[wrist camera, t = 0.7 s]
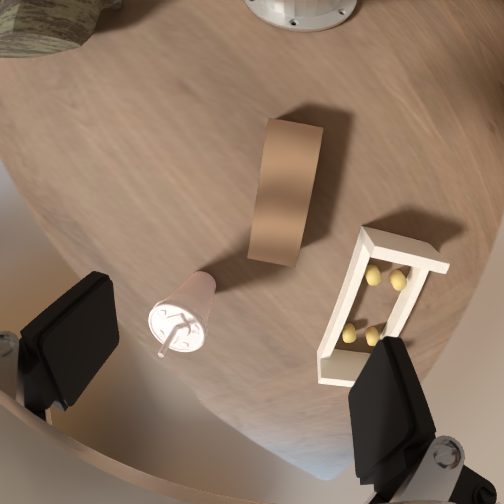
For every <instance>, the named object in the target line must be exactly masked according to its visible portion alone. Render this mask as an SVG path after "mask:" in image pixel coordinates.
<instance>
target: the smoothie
mask: <svg viewBox="0 0 504 504" xmlns="http://www.w3.org/2000/svg"><path fill="white" fill-rule="evenodd" d="M215 289H216V282H215V280H214V278H213V277H212V276H211V275H210V274H208V273H206V272H203V271H197V272H194V273H193V274H192V275H190V276H189V277H188V278H187V279H186V280H185V281H184V282H183V283H182V284H181V285H180V286H179V287H178V288H177V289H176V290H175V291H174V292H172V293H171V294H170V295H169V296H168V297H167V298H166V299H165V300H163V301H160V302H158V303H157V304H156V305H155V306H154V307H153V309H152V311H151V312H150V315H149V326H150V329H151V331H152V333H153V334H154V336H155V337H156V338H157V339H158V340H159V341H160V342H161V343H162V344H163V346H162V347H161V349H160V351H159V353H158V356H160V357H163V356H164V354H165V353H166V351H167V349H168V347H169V348H171V349H173V350H176V351H180V352H191V351H195V350H197V349H199V348H200V347H201V346H202V345H203V343H204V341H205V339H206V338H207V334H208V329H207V322H208V318H209V314H210V309H211V305H212V301H213V297H214V293H215Z"/></svg>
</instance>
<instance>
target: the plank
mask: <svg viewBox="0 0 504 504" xmlns="http://www.w3.org/2000/svg"><path fill="white" fill-rule="evenodd" d="M322 134H323V128H321V127H317V126H312V125H307V124H301V123H296V122H290V121H284V120H278V119H272V118H268V124H267V130H266V137H265V143H264V150H263V157H262V163H261V170H260V176H259V183H258V190H257V196H256V203H255V210H254V216H253V223H252V230H251V237H250V243H249V250H248V257H247V258H249V259H254V260H259V261H264V262H270V263H275V264H280V265H286V266H291V267H296V263H297V259H298V254H299V250H300V245H301V241H302V236H303V232H304V227H305V223H306V218H307V213H308V208H309V203H310V199H311V194H312V189H313V183H314V178H315V173H316V168H317V162H318V157H319V151H320V146H321V140H322Z"/></svg>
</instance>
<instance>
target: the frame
mask: <svg viewBox="0 0 504 504" xmlns="http://www.w3.org/2000/svg"><path fill="white" fill-rule="evenodd" d="M370 256H371V257H372V258H377V259H381V260H386V261H390V262H395V263H399V264H404V265H408V266H411V269H410V271H409V274H408V276H407V279H406V278H405V277H404V275H403V274H402V272H401V271H400V270H393V271H392V272H391V273H390V275H389V279H390V281H391V283H392V284H393V286H394V288H395V289H396V290H402V291H401V293H400V295H399V298H398V300H397V302H396V304H395V306H394V309H393V311H392V313H391V315H390V317H389V319H388V321H387V323H386V325H385V327H384V329H383V331H382V333H381V335H380V337H379V334H378V331H377V328H375V327H369V328H368V329H367V330H366V331H365V335H366V339H367V343H368V345H370V346H375V345H376V343H377V342H378V340H380V339H383V338H384V337H385V336H392V337H398V335H399V333H400V332H401V330H402V328H403V326H404V324H405V322H406V320H407V318H408V316H409V314H410V312H411V310H412V308H413V306H414V304H415V302H416V299H417V297H418V295H419V293H420V291H421V288H422V286H423V284H424V282H425V279H426V277H427V274H428V272H429V270H430V271H434V272H438V273H442V274H446V272H447V270H448V268H449V265H450V264H449V263H448V262H447V261H446V260H445V259H444V258H443V257H442V256H441V255H440V254H439V253H438V252H437V251H436V250H435V249H434V248H433V247H432V246H431V245H430V244H429V243H427V242H423V241H420V240H416V239H412V238H409V237H405V236H401V235H397V234H393V233H389V232H385V231H381V230H377V229H373V228H369V227H365V226H361V229H360V232H359V236H358V239H357V243H356V246H355V249H354V252H353V256H352V259H351V262H350V265H349V268H348V271H347V274H346V277H345V280H344V283H343V286H342V289H341V291H340V294H339V297H338V300H337V303H336V305H335V308H334V311H333V313H332V316H331V319H330V321H329V324H328V326H327V329H326V332H325V334H324V337H323V339H322V342H321V344H320V346H319V349H318V351H317V363H318V383H320V384H328V385H337V386H347V387H352V386H353V385H354V383H355V381H356V380H357V378H358V376H359V374H360V373H361V371H362V369H363V367H364V366H365V364H366V362H367V360H368V358H369V357H370V355H371V353H372V352H371V353H363V352H355V351H347V350H339V349H334V347H335V345H336V342H337V340H338V338H339V336H340V333H341V331H342V336H343V340H344V342H346V343H351V342H353V341H355V340H356V332H355V328H354V325H353V324H351V323H347V324H345V321H346V319H347V317H348V314H349V312H350V309H351V307H352V304H353V302H354V299H355V296H356V294H357V291H358V289H359V286H360V283H361V280H362V278H363V275H365V277H366V279H367V282H368V283H369V284H370V285H373V286H374V285H377V284H379V283H380V282H381V279H382V276H381V274H380V272H379V270H378V268H377V266H376V265H374V264H369V265H367V264H368V261H369V258H370ZM372 351H373V350H372Z"/></svg>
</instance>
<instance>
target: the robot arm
mask: <svg viewBox="0 0 504 504" xmlns="http://www.w3.org/2000/svg"><path fill="white" fill-rule="evenodd" d="M245 2H246V4H247V5H248V7H249V9H250V10H251V11H252V12H253V13H254V14H255V15H256V16H257V17H259V18H260V19H262V20H263V21H265V22H267V23H269V24H271V25H273V26H275V27H279V28H282V29H285V30H290V31H296V32H315V31H321V30H326V29H330V28H332V27H334V26H337V25H339V24H340V23H342V22H343V21H345V20H346V19H347V18H348V17H349V16H350V15H351V13H352V12H353V10H354V8H355V6H356V3H357V0H255V1H252V0H245ZM339 13H342V14H343V15H341V14H339ZM292 24H296V25H295V26H293V25H292ZM20 333H21V336H22V338H21V339H20V340H19V339H18V337H17V335H15V334H14V333H12V332H10V331H1V332H0V504H271V503H263V502H256V501H249V500H243V499H237V498H231V497H227V496H222V495H217V494H213V493H208V492H204V491H200V490H196V489H193V488H189V487H186V486H182V485H179V484H176V483H172V482H169V481H166V480H163V479H160V478H157V477H155V476H152V475H149V474H147V473H144V472H141V471H139V470H136V469H134V468H131V467H129V466H127V465H124V464H122V463H120V462H118V461H115V460H113V459H111V458H109V457H107V456H105V455H103V454H101V453H99V452H96V451H95V450H93V449H91V448H89V447H87V446H85V445H83V444H82V443H80V442H78V441H76V440H74V439H73V438H71V437H69V436H68V435H66V434H64V433H63V432H61V431H59V430H58V429H56V428H55V427H53V426H52V423H51V415H50V406H51V405H52V403H53V404H54V405H55V406H56V407H58V408H60V409H61V410H63V411H66V409H67V408H68V406H72V405H74V403H75V402H76V401H77V399H78V398H79V396H80V395H81V394H82V392H83V391H84V390H85V388H86V387H87V385H88V384H89V383H90V381H91V380H92V379H93V377H94V376H95V375H96V373H97V372H98V370H99V369H100V368H101V366H102V365H103V364H104V363H105V361H106V360H107V359H108V357H109V356H110V355H111V353H112V352H113V351H114V349H115V348H116V347H117V345H118V343H119V331H118V324H117V317H116V309H115V300H114V290H113V282H112V281H111V280H110V278H109V276H108V275H107V274H103V273H100V272H97V271H93V272H91V273H90V274H89V275H87V276H86V277H85V278H83V279H82V280H81V281H80V282H78V283H77V284H76V285H75V286H73V287H72V288H71V289H69V290H68V291H67V292H66V293H65V294H63V295H62V296H61V297H60V298H58V299H57V300H56V301H55V302H54V303H52V304H51V305H50V306H49V307H48V308H46V309H45V310H44V311H43V312H42V313H41V314H39V315H38V316H37V317H36V318H35V319H34V320H32V321H31V322H30V323H29V324H28V325H27V326H26V327H25V328H24V329H22V330H21V331H20ZM348 401H349V409H350V417H351V426H352V436H353V446H354V458H355V471H356V476H357V477H358V478H360V485H367V484H374V492H373V493H372V495H371V496H370V497H369V498H368V500H367V501H366V502H365V503H364V504H495V503H496V499H497V493H496V489H495V487H494V486H493V484H492V483H491V482H489V481H488V480H486V479H485V478H483V477H482V476H480V475H479V474H477V473H475V472H474V471H473V470H471V469H469V468H468V467H466V466H465V465H464V460H465V455H464V450H463V447H462V446H461V444H460V443H459V442H458V441H457V440H455V439H454V438H452V437H450V436H439V437H437V438H436V437H435V432H436V428H435V425H434V422H433V419H432V416H431V413H430V410H429V407H428V404H427V401H426V398H425V396H424V393H423V390H422V388H421V385H420V382H419V380H418V377H417V374H416V372H415V369H414V367H413V364H412V362H411V359H410V357H409V355H408V352H407V350H406V348H405V345H404V343H403V341H402V339H401V338H399V337H392V336H385V337H384V338H383V339H380V340H378V342H377V343H376V345H375V347H374V349H373V351H372V353H371V355H370V357H369V358H368V360H367V362H366V364H365V366H364V367H363V369H362V371H361V373H360V374H359V376H358V378H357V380H356V381H355V383H354V385H353V386H352V388H351V390H350V392H349V396H348ZM496 504H500V503H499V502H498V503H496Z"/></svg>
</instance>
